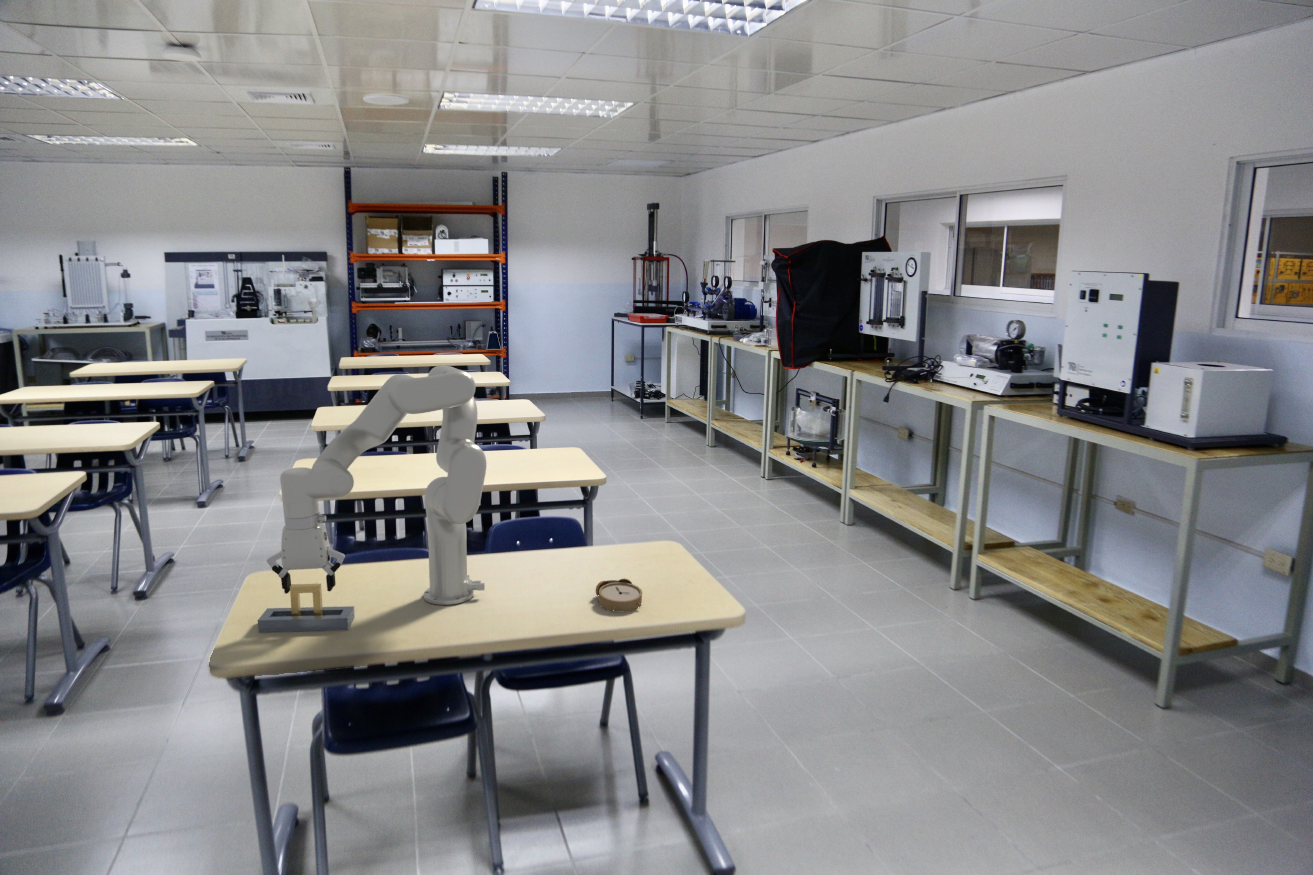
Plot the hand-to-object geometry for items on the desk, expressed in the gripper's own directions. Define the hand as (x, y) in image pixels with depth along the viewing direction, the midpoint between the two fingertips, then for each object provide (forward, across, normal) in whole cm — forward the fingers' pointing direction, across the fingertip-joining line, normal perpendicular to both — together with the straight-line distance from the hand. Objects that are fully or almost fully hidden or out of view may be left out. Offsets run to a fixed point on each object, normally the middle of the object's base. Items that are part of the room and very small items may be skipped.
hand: (309, 590), depth 200 cm
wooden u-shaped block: (+8, +1, 0) cm, 8 cm away
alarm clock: (+12, -74, -10) cm, 75 cm away
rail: (+8, +1, +1) cm, 9 cm away
